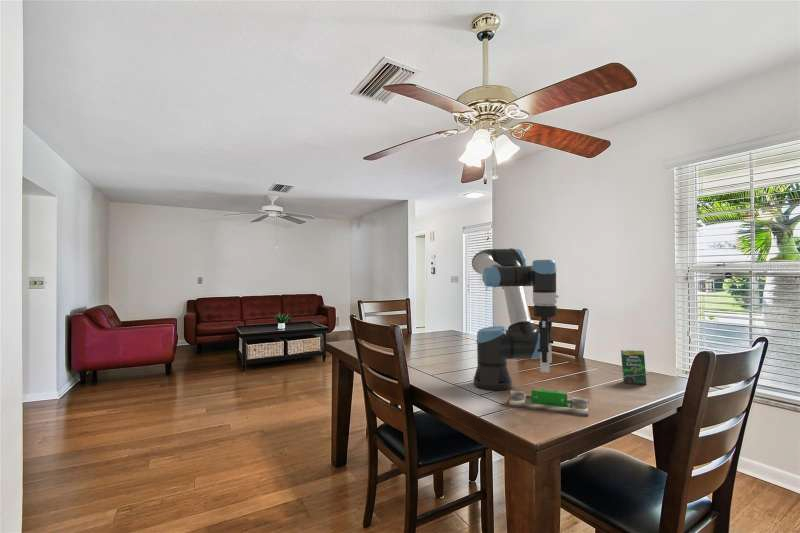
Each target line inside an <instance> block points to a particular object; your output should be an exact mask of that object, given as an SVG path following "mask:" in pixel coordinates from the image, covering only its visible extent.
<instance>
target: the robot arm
mask: <svg viewBox="0 0 800 533" xmlns="http://www.w3.org/2000/svg"><path fill="white" fill-rule="evenodd" d="M471 267H472V268H473V270H474V271H475V273H478V274H479V275H482V279H483V280H482V281H483V284H484V286H485V287H487V288H488V287H489V288H491V287H492V288H499V287H500V288H503V293H504V295H505V296H504V297H505V302H506V308H507V312H508V313H507V314H508V318H509V322H510V324H509V325H508V327H507V328H506V327H505V326H500V325H498V326H488V327H484V328H479V330H478V331H477V333H476V352H477V355H476V356H477V358H476V359H477V360H476V361H477V366H476V369H475V374H474V376H473V385H474V386H475V387H476V388H478V389H482V390H486V391H505V390H509V389H512V386H513V381H512V377H511V375H510V372H509V369H508V364H507V363H508V360H532V359H533V360H534V359H535V360H536V359H539V367H540V368H539V369H540V372H541V373H548V374H549V373H550V364H551V363H552V362H553V361H552V360H553V359H552V357H553V355H552V344H554V340H553V339H552V326H553V322H552V320H551V318H555V317H557V315H558V306H557V305H556V304H557V302H558V301H557V299H558V298H559V295H558V294H557V266H556V261H555V260H553V259H535V260H533V261H532V264H531V265H527V263H526V256H525V254H524V252H523V250H521V249H519V248H510V247H509V248H488V249H483V250H481V251H478V252H477V253H476V254H475V255H473V257H472V260H471ZM524 287H532V304H533V306H532V307H533V308H532V309H533V310H532V312H533V316H534V317H536V318H537V317H539V318H540V320H539V322H538V327H537V324H536V323H535V322H534V321H532V318H531V314H530V308H529V305H528V301H527V295H526V292H525V288H524Z"/></svg>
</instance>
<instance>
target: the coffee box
mask: <svg viewBox="0 0 800 533" xmlns="http://www.w3.org/2000/svg"><path fill="white" fill-rule="evenodd" d="M620 353H621V354H620V355H621V356H620V357H621V369H622V372H621V373H622V381H623V383H624V384H634V385H647V374H646V372H647V371H646V361H645V351H644V350H631V349H630V350H627V349H622V350H620Z"/></svg>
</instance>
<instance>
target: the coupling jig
mask: <svg viewBox="0 0 800 533" xmlns="http://www.w3.org/2000/svg"><path fill="white" fill-rule="evenodd" d="M509 394H510V396H509V397H510V399H509V402H508V403H509V404H508V406H510V407H514V408H515V407H517V408H524V409H532V410H537V411H538V410H539V411H548V412H554V413H562V414H570V415H578V416H586V417H588V416H589V407H590V405H589V404H590V402H589V400H590V399H588V398H584V397H578V396H573V397H572V398H567V400H568V408H567V407H559V406H551V405H542V404H534V403H532V399H531V394H527V393H525V392H524V391H523V390H510V391H509ZM535 398H538V397H537V396H535ZM561 401H564V399H561Z"/></svg>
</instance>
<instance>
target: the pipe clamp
mask: <svg viewBox="0 0 800 533" xmlns="http://www.w3.org/2000/svg"><path fill="white" fill-rule="evenodd" d="M530 393H531V394H530V395H531V399H532V403H534V404H542V405H551V406H559V407H567V408H568V400H567V399H568V393H566V392H559V391H558V389H555V390H546V389H544V388H541V389H540V390H537V389H531V391H530ZM535 396H537V397H538V398H535ZM561 399H564V401H561Z"/></svg>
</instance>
